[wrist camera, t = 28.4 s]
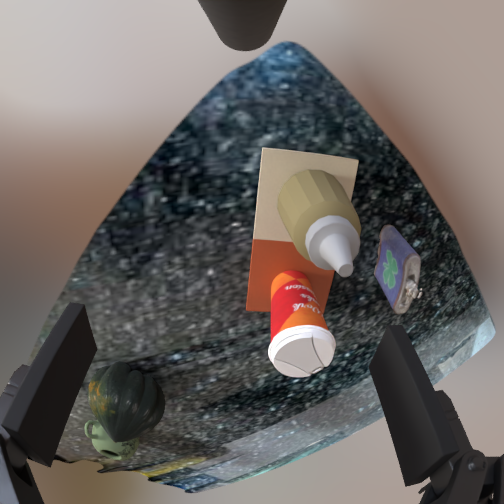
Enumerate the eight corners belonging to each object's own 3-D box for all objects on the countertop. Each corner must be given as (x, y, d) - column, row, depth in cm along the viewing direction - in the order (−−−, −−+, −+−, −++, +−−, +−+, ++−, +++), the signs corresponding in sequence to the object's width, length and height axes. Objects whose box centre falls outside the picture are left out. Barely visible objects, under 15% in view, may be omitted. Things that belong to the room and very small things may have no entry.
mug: (151, 436, 69) (145, 464, 62) (120, 441, 72) (113, 466, 65) (106, 404, 63) (97, 433, 55) (77, 411, 66) (68, 437, 58)
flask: (380, 223, 42) (413, 263, 32) (398, 223, 42) (434, 261, 32) (371, 279, 46) (396, 325, 37) (388, 278, 46) (416, 323, 37)
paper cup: (326, 288, 46) (349, 358, 34) (284, 315, 48) (294, 387, 36) (296, 252, 43) (314, 321, 31) (252, 283, 45) (253, 356, 33)
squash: (136, 363, 47) (82, 427, 40) (191, 408, 54) (144, 464, 46) (110, 340, 57) (65, 392, 50) (157, 382, 64) (117, 430, 57)
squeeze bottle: (261, 183, 38) (271, 257, 23) (318, 149, 36) (372, 200, 20) (295, 233, 42) (321, 327, 26) (348, 203, 40) (406, 281, 24)
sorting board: (262, 147, 37) (262, 148, 36) (357, 159, 37) (358, 160, 37) (246, 308, 48) (246, 310, 48) (322, 312, 49) (323, 314, 48)
